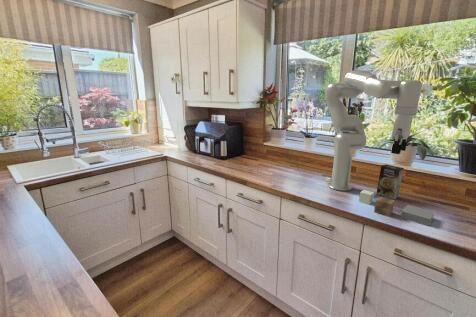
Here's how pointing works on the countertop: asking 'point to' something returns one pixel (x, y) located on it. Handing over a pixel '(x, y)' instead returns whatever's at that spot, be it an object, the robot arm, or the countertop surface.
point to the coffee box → (389, 181)
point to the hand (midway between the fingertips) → (398, 151)
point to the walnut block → (384, 206)
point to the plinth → (417, 215)
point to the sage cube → (366, 197)
